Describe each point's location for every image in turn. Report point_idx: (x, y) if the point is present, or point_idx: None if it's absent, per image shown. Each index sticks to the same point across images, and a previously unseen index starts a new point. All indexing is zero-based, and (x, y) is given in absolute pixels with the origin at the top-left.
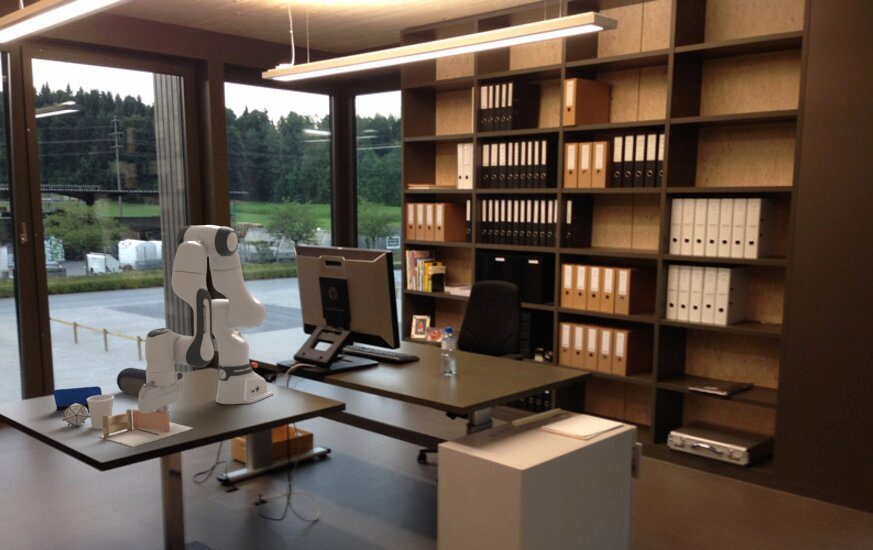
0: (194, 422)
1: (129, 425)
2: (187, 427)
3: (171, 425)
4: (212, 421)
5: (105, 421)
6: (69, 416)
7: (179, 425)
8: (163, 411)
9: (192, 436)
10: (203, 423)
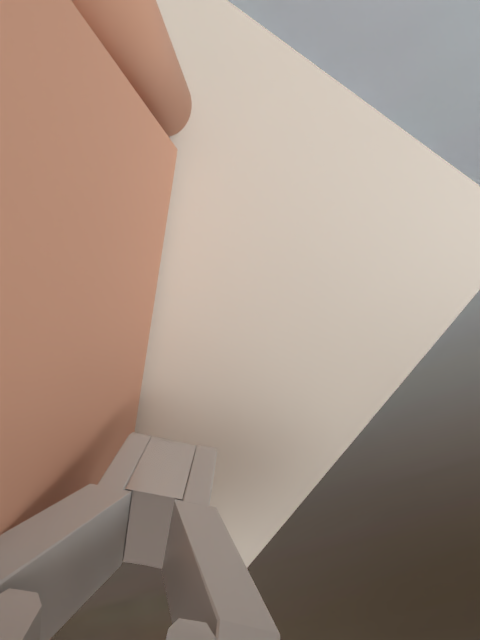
0: (404, 540)
1: None
2: (240, 554)
3: (296, 428)
4: (415, 631)
5: None
6: None
7: (295, 487)
8: (178, 572)
9: (79, 612)
10: (371, 597)
